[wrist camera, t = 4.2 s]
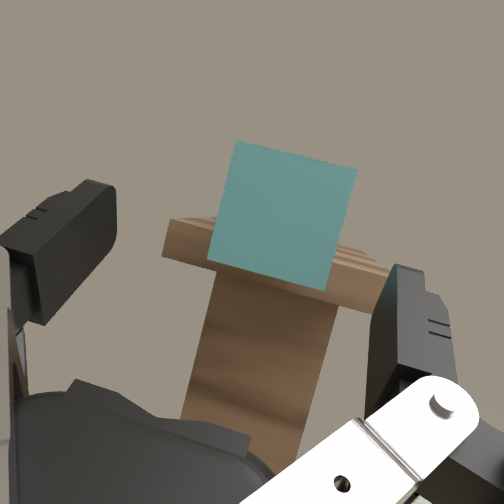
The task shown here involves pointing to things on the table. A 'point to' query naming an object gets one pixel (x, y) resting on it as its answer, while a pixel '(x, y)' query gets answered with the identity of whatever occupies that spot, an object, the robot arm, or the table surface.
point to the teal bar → (281, 214)
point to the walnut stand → (265, 341)
